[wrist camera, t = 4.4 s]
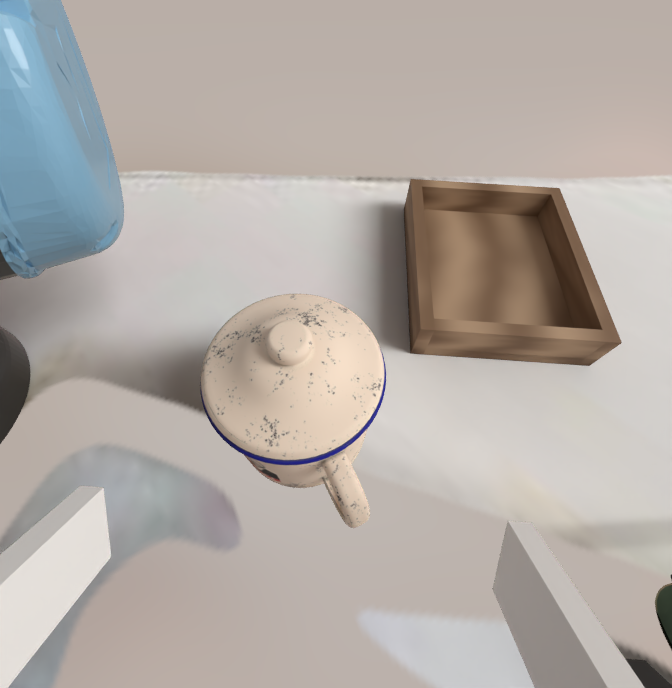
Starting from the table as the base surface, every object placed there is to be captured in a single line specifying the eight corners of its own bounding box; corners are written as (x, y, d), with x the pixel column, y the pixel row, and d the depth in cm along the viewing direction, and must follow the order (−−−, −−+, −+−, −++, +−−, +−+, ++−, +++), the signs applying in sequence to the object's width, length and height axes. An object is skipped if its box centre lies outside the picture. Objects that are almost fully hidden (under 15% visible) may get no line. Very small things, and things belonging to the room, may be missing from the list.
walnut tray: (410, 353, 28) (420, 329, 25) (403, 209, 36) (410, 179, 33) (589, 365, 28) (621, 342, 25) (540, 218, 36) (559, 188, 33)
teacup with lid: (221, 395, 26) (153, 296, 16) (333, 348, 28) (336, 234, 18) (284, 570, 20) (243, 588, 10) (416, 494, 23) (488, 448, 13)
